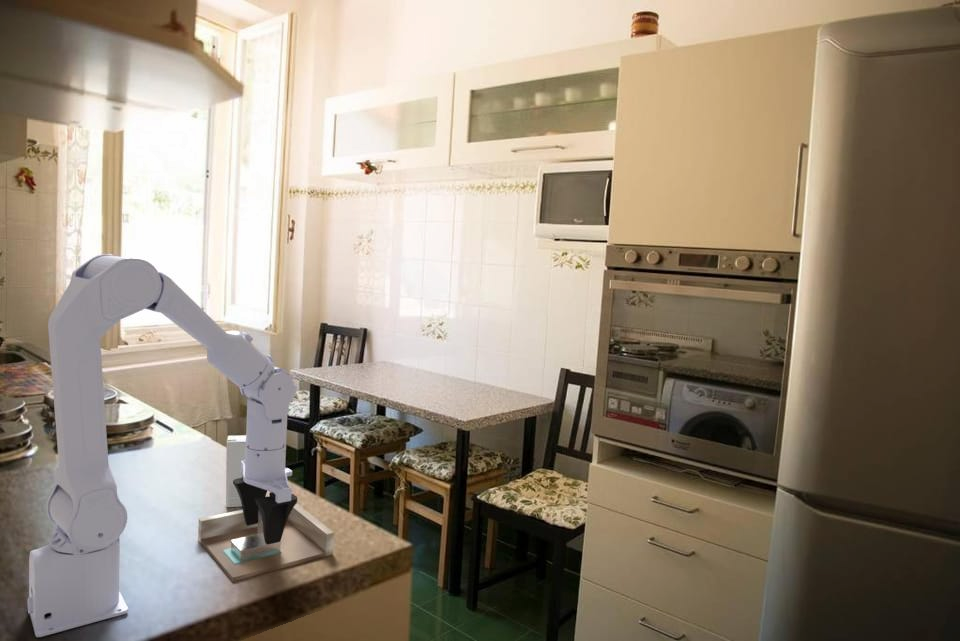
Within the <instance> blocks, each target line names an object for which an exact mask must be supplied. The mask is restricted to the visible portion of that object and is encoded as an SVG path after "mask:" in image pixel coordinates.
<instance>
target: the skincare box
mask: <svg viewBox="0 0 960 641" xmlns="http://www.w3.org/2000/svg"><path fill="white" fill-rule="evenodd" d="M245 452H246V434H244V435H241V434H240V435H227V439H226V454H225V455H226V462H225V463H226V465H225V466H226V471H225V472H226V473H225V475H226V478H225V479H226V480H225V487H226V488H225V507H226V508H238V507H239V508H240V507H241V508H242V504H241V500H240V497H239V494H238V492H237V489H236V487H235V486H234V484H233V480H234V479H237V478H242V476H243V474H242V473H241V461H244V460H245Z"/></svg>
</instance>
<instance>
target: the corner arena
mask: <svg viewBox="0 0 960 641" xmlns="http://www.w3.org/2000/svg"><path fill="white" fill-rule="evenodd" d="M197 528H198V530H197V532H198V534H197V539H198V542H199V543H200V545H201V546H202V547H203V548H204V550H206V551H207V552H208V554H209V555H210V557H212V559H213V560H214V561H215V563H216V564H217V565H218V566H219V568H221V570H222V571H223V572H224V573H225V574H226V575H227V577H228V578H229V579H230V580H231V582H233V583H234V582H237V581H241V580H245V579H247V578H252V577H255V576H259V575H262V574H263V575H264V574H265V573H270V572H273V571H277V570H280V569H285V568H289V567H293V566H296V565H300V564H303V563H306V562H311V561H314V560H317V559H321V558H325V557H328V556H332V555H334V540H335V532H334V531H333V530H331V529H330V528H329V527H328V526H326V524H324V523H323V522H321V521H320V520H319V519H317V518H316V517H315V516H314V515H313V514H311V513H310V512H308V511H307V510H306V509H305V508H303V507H302V506H301V505H300V504H298V502H297V503H296V505H295V506H294V507H293V509H292V511H291V513H290V514H289V517H288V519H287V522H286V525H285V528H284V531H283V535H282V538H281V547H280V551H276V552H272V553H268V554H265V555H261V556H257V557H253V558H249V559H245V560H241V561H240V559H239V558H238V557H237V556H236V555H235V554H234V553H233V552H232V551H231V540H234V539H239V538H243V537H247V536H252V535H256V534H258V524H253V525H248V526H247V525H246V522H245V518H244V514H243V509H239V510H234V511H229V512H224V513H219V514H214V515H210V516H209V515H208V516H204V517H200V518H198V527H197Z"/></svg>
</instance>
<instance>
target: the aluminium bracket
mask: <svg viewBox="0 0 960 641" xmlns="http://www.w3.org/2000/svg"><path fill="white" fill-rule="evenodd" d="M280 547H281V541H280V542H277V543H273V544H269V545H267V544H266V543H265V540H264V534H263V522H262V517H261V513H260V510H259V509H258V534H256V535H252V536H247V537H243V538H239V539H234V540H231V551H232V552H233V553H234V554H235V555H236V556H237V557H238V558H239V559H240V561H241V560H245V559H249V558H253V557H257V556H261V555H265V554H268V553H272V552H276V551H280Z"/></svg>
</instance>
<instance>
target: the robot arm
mask: <svg viewBox="0 0 960 641" xmlns="http://www.w3.org/2000/svg"><path fill="white" fill-rule="evenodd" d="M70 277H71V278H70V281H69V284H68V285H67V287H66V289H65V290H64V292H63V294H62V295H61V298H59V301H58V302H57V304H56V305H55V308H54V309H53V310H52V312H51V314H50V316H49V317H48V325H47V328H48V329H47V330H48V340H49V343H48V344H49V355H50V368H51V379H52V382H51V383H52V394H53V406H54V407H53V408H54V419H55V431H56V434H55V435H56V442H57V443H56V444H57V456H58V457H57V458H58V459H57V460H58V467H57V468H56V470H55V472H54V473H53V479H52V480H53V486H52V491H50V492H51V493H50V494H49V497H48V499H47V503H46V513H47V515H48V518H49V519H50V520H51V521H52V522H53V523H54V524H55V525H56V529H55V531H54V533H53V535H52V538H51V541H50V543H49V544H47V545H44V546H42V547H39V548H37V549H32V550H31V551H29V558H28V561H29V562H28V597H27V612H28V613H27V614H29V616H30V620H31V623H32V627H33V631H34V635H35V637H36V638H42V637H46V636H50V635H52V634H57V633H61V632H64V631H68V630H71V629H74V628H78V627H82V626H86V625H89V624H93V623H96V622H101V621H104V620H106V619H107V620H108V619H111V618H114V617H119V616H122V615H125V614H128V612H129V607H128V605H127V603H126V601H125V599H124V597H123V595H122V593H121V591H120V562H121V561H120V558H121V557H120V554H121V549H120V548H121V545H120V544H121V535H122V534H123V532H124V530H125V528H126V526H127V523H128V511H127V509H126V506H125V505H124V504H123V503H122V502H121V500H120V497H119V496H118V487H117V483H116V481H115V477H114V475H113V472H112V470H111V467H110V464H109V453H108V452H109V451H108V450H109V448H108V437H107V436H108V434H107V422H106V421H107V420H106V406H105V404H106V403H105V392H104V376H103V363H102V362H103V360H102V358H103V357H102V347H101V339H102V337H103V335H105V334H106V333H107V332H108V331H109V330H110V329H112V328H113V327H114V326H115V325H116V324H117V323H119V322H120V321H121V320H122V319H123V320H124V319H125V318H127V317H130V316H132V315H134V314H137V313H139V312H141V311H144V310H145V309H146V310H148V311H152V312H156V313H161V314H162V315H163V316H165V318H167V319H169V321H171V322H172V323H174V324H175V325H176V326H178V327H179V328H180V329H181V330H183V331H184V332H185V333H187V334H188V335H189V336H190V337H192V338H193V339H195V341H197V342H199V344H201V345H202V346H204V347H205V348H206V359H207V362H208V363H209V364H210V365H211V366H213V367H214V368H215V369H216V370H217V371H219V372H220V373H221V374H222V375H224V376H225V378H228V379H229V381H230V382H232V383H233V384H235V385H236V386H237V387H238V388H239V391H240V393H241V395H242V396H243V397H247V401H246V425H245V426H246V427H245V428H246V430H245V432H246V433H245V435H246V452H245V460H244V461H241V473H242V474H243V476H242V478H237V479H234V480H233V484H234V486H235V487H236V489H237V492H238V494H239V497H240V500H241V504H242V506H241V508H242V510H243V514H244V518H245V522H246V525H247V526H248V525H253V524H258V509H259V510H260V513H261V517H262V522H263V534H264V540H265V543H266V544H267V545H269V544H273V543H277V542H280V541H281V538H282V535H283V531H284V528H285V525H286V522H287V519H288V517H289V514H290V513H291V511H292V509H293V507H294V506H295V505H296V503H297V504H298V496H297V495H295V494H294V493H292V492H293V491H292V487H291V486H290V485H289V480H288V477H291V476H292V475H293V470H292V469H290V468H288V467H286V456H287V452H286V451H287V431H288V428H287V427H288V414H289V408H290V404H291V403H292V401H293V400H294V398H295V396H296V394H297V389H298V386H297V385H296V384H295V382H294V380H293V378H294V377H293V376H292V374H291V372H289V371H287V370H286V369H283V368H280V367H278V366H275V364H274V361H275V358H273V357H272V356H271V355H270V354H264V353H263V351H261V350H260V349H259V348H258V347H256V346H255V345H254V344H253V343H252V341H253V340H254V338H253V336H251V335H250V334H249V333H246V332H242V333H241V332H240V331H238V330H227V331H225V329H223V328H222V327H221V326H220V325H219V324H218V323H217V322H216V321H215V320H214V319H213V318H212V317H211V316H210V315H208V314H207V312H206V311H204V310H203V309H202V307H200V306H199V304H197V302H195V301H194V300H193V299H192V298H191V297H190V295H188V294H187V293H186V292H185V291H184V290H183V289H182V288H181V287H180V286H179V285H178V284H176V282H175V281H174V280H173V279H172V278H171V277H169V276H168V275H166V274H164V273H163V272H161V271H158V269H157V268H156V267H155V265H153V264H152V263H150V261H148V260H145V259H144V258H139V257H124V256H123V257H122V256H119V255H116V254H111V253H103V254H99V255H95V256H93V257H92V258H90V259H89V260H88V261H86V262H85V263H83V264H81V266H79V267H77V268H76V269H75V270H73V271H72V273H71V276H70ZM268 492H269V496H267V493H268Z"/></svg>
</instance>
